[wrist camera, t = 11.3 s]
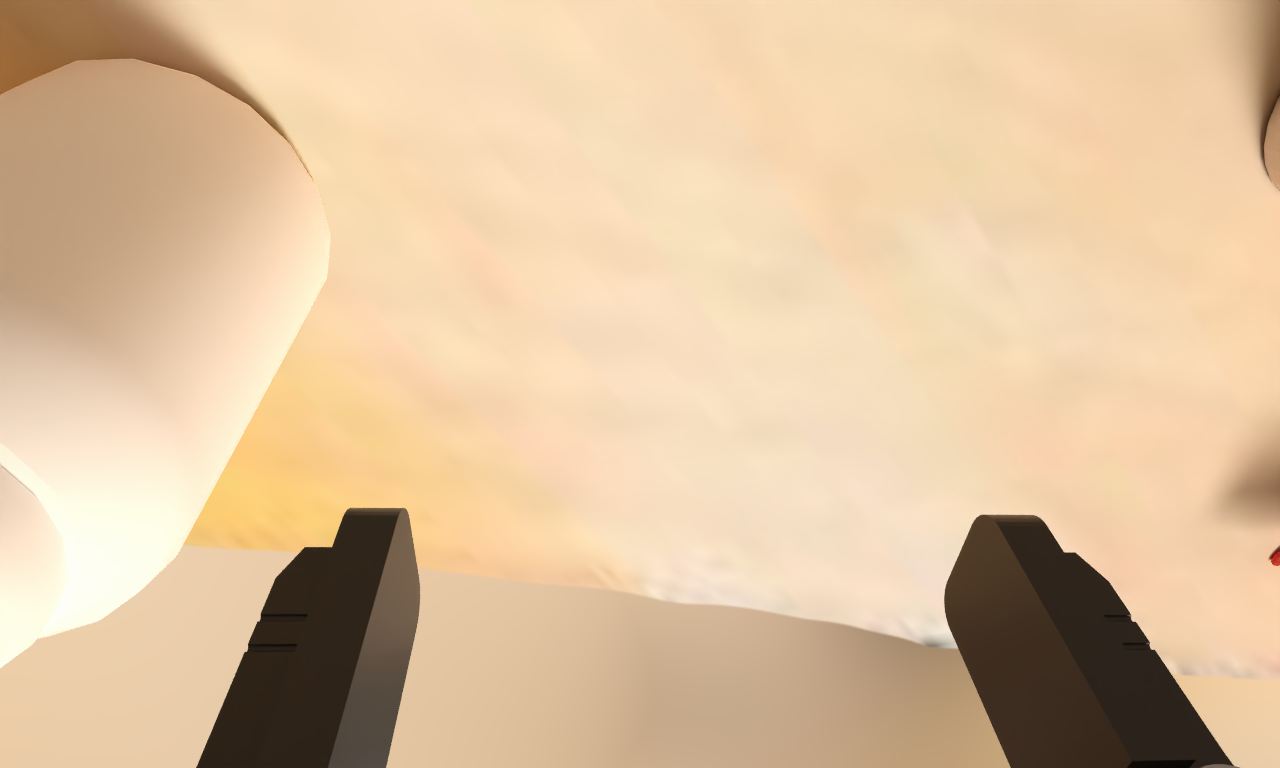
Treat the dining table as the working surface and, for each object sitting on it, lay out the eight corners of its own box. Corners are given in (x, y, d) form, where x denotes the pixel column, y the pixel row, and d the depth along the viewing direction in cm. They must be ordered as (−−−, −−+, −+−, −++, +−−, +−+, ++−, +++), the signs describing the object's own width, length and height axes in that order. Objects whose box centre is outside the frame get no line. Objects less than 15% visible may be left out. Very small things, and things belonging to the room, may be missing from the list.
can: (56, 327, 35) (-391, 765, 19) (-45, 29, 28) (-907, 320, 12) (347, 350, 37) (166, 769, 20) (322, 74, 30) (16, 384, 13)
